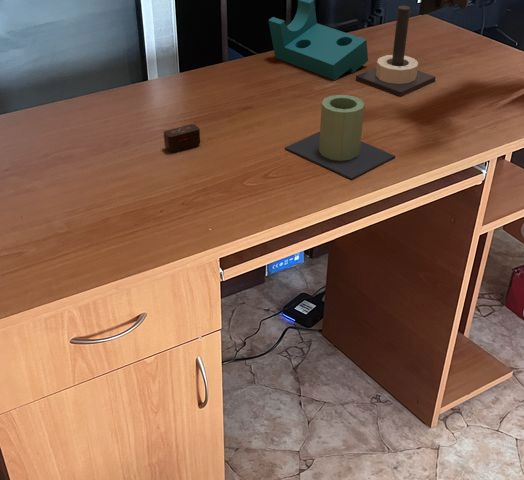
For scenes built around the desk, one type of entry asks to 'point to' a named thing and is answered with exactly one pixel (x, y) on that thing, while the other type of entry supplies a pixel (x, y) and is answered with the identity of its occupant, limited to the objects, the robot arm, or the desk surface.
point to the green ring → (341, 127)
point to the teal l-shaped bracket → (316, 44)
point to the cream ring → (396, 70)
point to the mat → (347, 168)
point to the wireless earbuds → (182, 138)
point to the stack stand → (398, 61)
